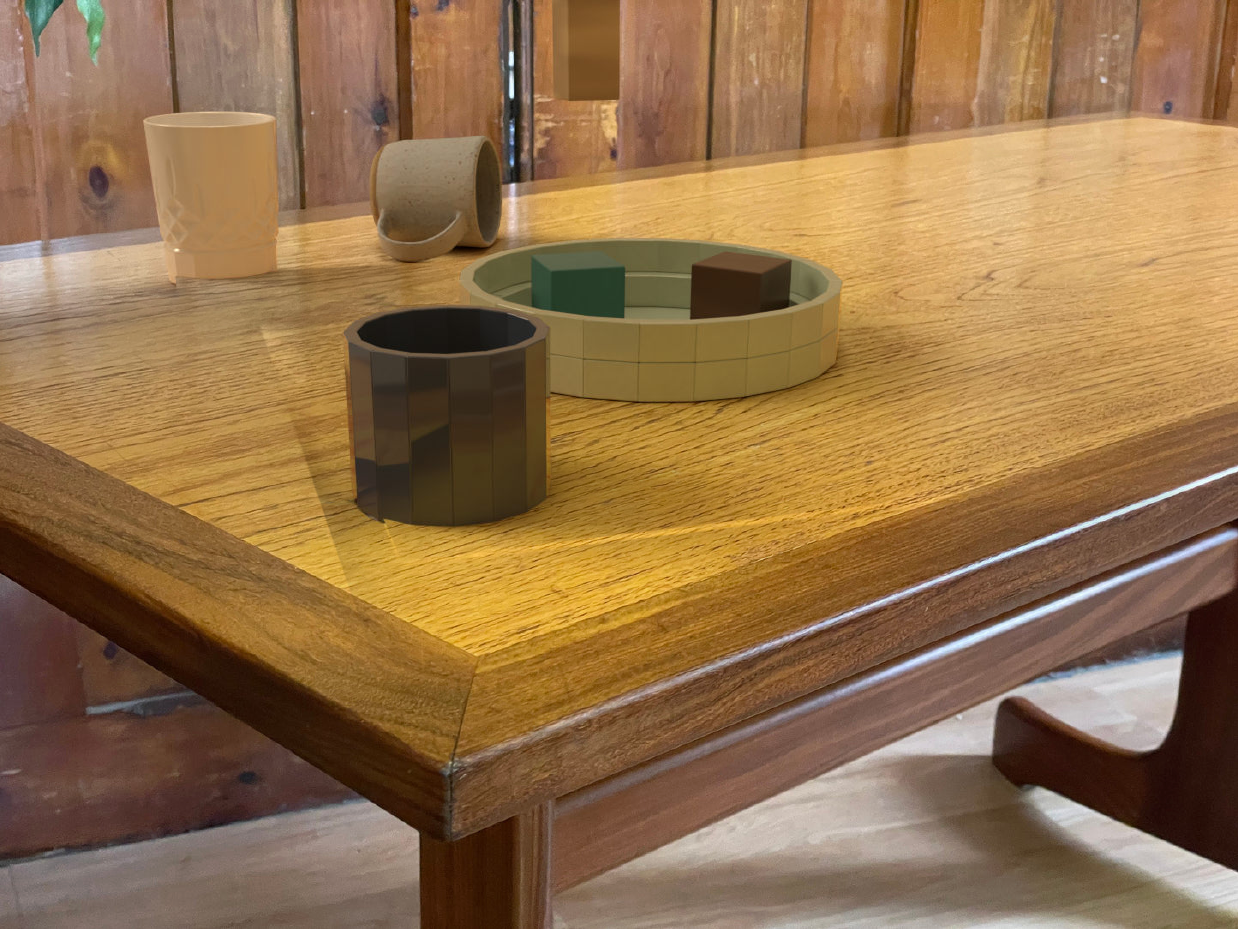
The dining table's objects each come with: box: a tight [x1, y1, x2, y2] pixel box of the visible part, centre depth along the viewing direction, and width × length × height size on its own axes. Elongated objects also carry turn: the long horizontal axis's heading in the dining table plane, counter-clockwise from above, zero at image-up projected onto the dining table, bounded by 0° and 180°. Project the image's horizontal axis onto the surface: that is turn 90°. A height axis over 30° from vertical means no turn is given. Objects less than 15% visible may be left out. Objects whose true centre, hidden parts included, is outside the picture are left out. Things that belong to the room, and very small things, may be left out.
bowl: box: [458, 237, 844, 403], centre depth 71 cm, size 19×19×4 cm
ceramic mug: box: [368, 135, 503, 263], centre depth 96 cm, size 11×8×8 cm
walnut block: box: [690, 251, 792, 320], centre depth 73 cm, size 4×4×4 cm
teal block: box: [531, 251, 625, 319], centre depth 73 cm, size 4×4×4 cm
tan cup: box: [142, 111, 279, 285], centre depth 86 cm, size 8×8×10 cm
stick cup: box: [342, 304, 552, 528], centre depth 51 cm, size 7×7×7 cm
